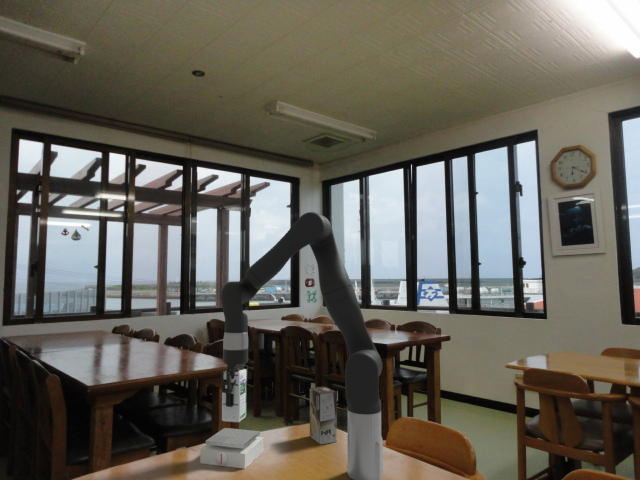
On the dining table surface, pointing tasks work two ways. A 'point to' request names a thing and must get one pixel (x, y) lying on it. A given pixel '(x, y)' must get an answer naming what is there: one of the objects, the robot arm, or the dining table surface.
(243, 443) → the pan
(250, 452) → the white square slab
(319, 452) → the dining table surface
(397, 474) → the dining table surface
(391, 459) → the dining table surface
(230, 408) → the syrup box
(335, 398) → the coffee box
